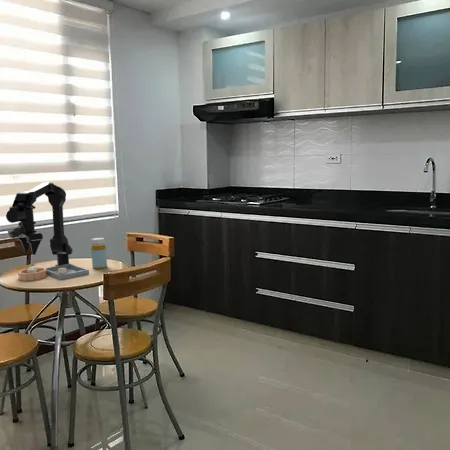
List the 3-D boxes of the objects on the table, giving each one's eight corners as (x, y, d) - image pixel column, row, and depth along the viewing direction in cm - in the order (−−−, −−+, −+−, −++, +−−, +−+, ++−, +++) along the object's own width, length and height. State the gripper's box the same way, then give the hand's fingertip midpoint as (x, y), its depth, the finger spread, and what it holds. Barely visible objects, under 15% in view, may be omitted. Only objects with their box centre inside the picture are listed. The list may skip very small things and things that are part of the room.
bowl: (15, 278, 222) (14, 270, 222) (40, 273, 230) (40, 266, 230) (24, 282, 213) (24, 275, 213) (51, 277, 221) (50, 270, 221)
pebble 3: (57, 277, 220) (56, 268, 220) (64, 275, 223) (64, 267, 222) (60, 278, 217) (60, 269, 217) (68, 276, 220) (67, 268, 219)
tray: (42, 273, 230) (42, 268, 229) (70, 268, 239) (69, 263, 239) (60, 280, 215) (59, 275, 215) (88, 274, 224) (88, 269, 224)
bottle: (103, 270, 233) (101, 239, 231) (90, 269, 234) (88, 239, 232) (109, 266, 240) (107, 237, 238) (96, 266, 241) (94, 237, 239)
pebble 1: (28, 275, 224) (28, 267, 224) (36, 274, 226) (35, 266, 226) (30, 276, 221) (30, 267, 221) (38, 275, 223) (38, 266, 223)
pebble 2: (26, 278, 219) (25, 269, 219) (34, 276, 222) (33, 268, 221) (30, 279, 217) (29, 270, 216) (37, 277, 219) (36, 269, 219)
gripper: (1, 220, 217) (4, 253, 220) (16, 223, 204) (19, 259, 206) (26, 217, 225) (29, 249, 227) (41, 220, 211) (44, 255, 213)
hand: (30, 253), depth 218 cm, fingers open, 9 cm apart
